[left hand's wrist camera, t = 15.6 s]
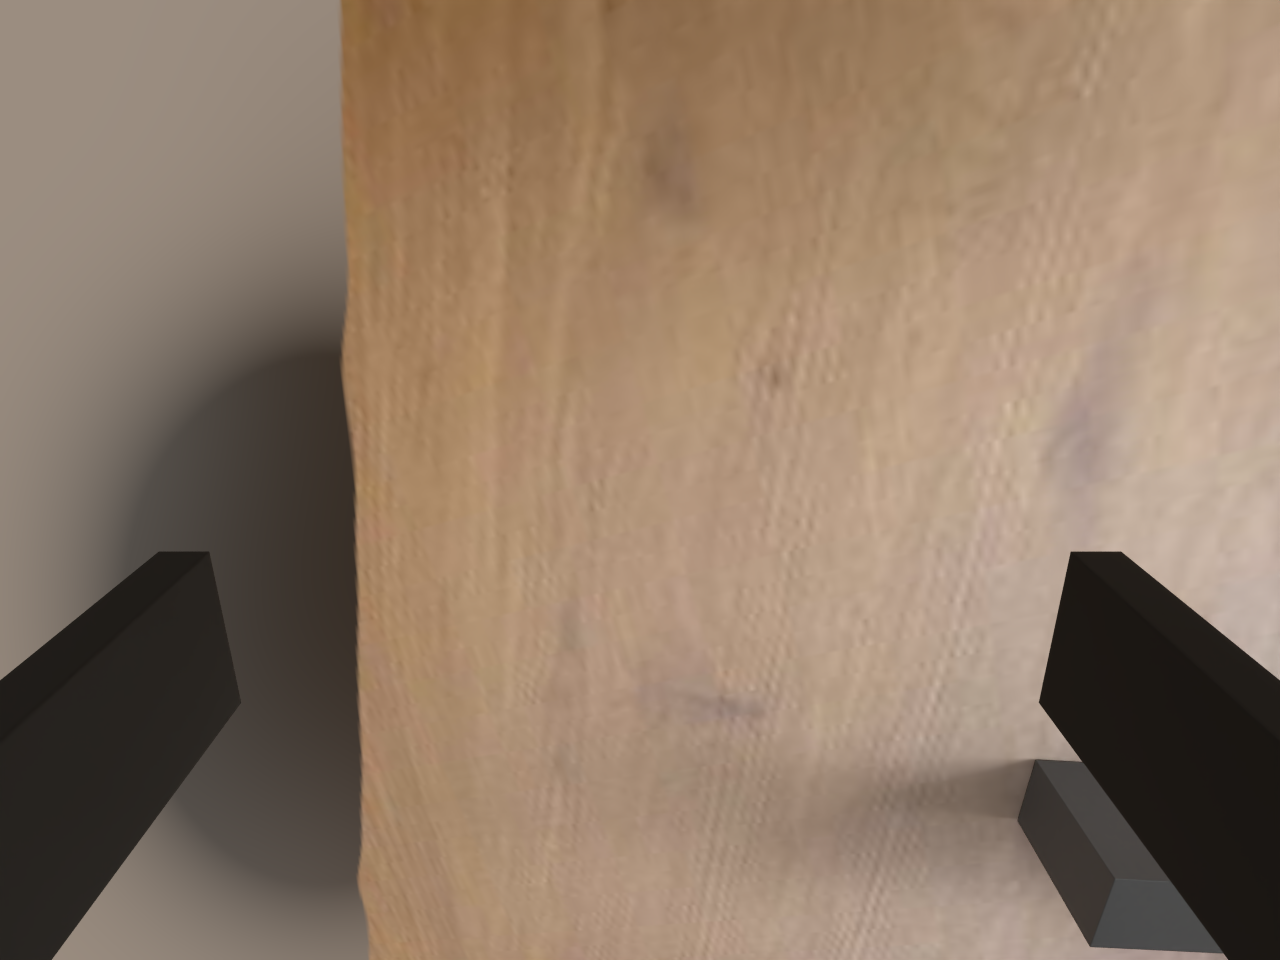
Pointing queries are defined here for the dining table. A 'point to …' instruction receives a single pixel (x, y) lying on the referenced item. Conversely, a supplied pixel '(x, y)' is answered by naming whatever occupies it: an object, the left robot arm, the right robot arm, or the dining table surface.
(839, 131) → the dining table surface
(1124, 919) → the bar
